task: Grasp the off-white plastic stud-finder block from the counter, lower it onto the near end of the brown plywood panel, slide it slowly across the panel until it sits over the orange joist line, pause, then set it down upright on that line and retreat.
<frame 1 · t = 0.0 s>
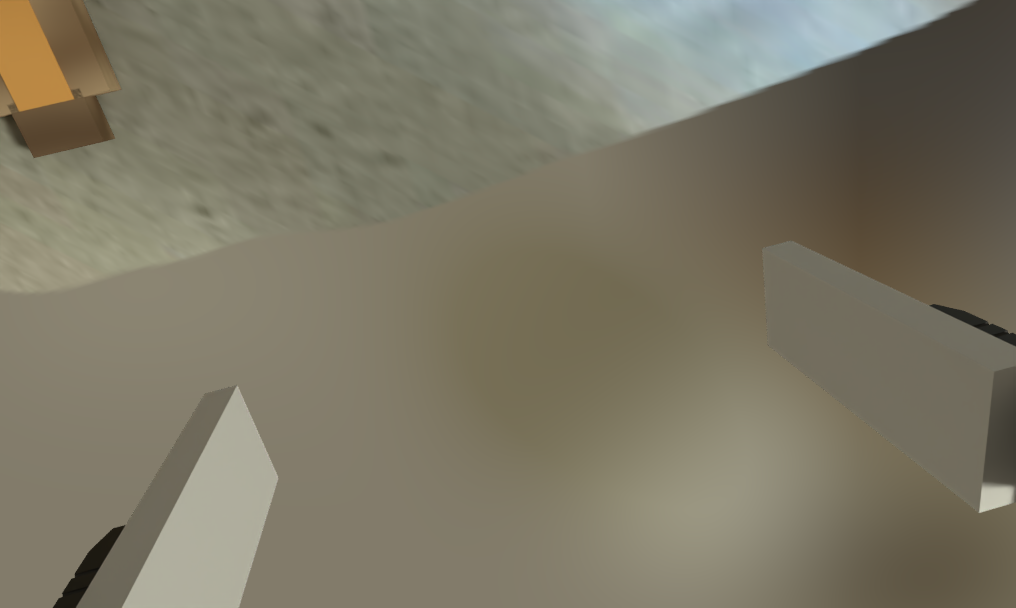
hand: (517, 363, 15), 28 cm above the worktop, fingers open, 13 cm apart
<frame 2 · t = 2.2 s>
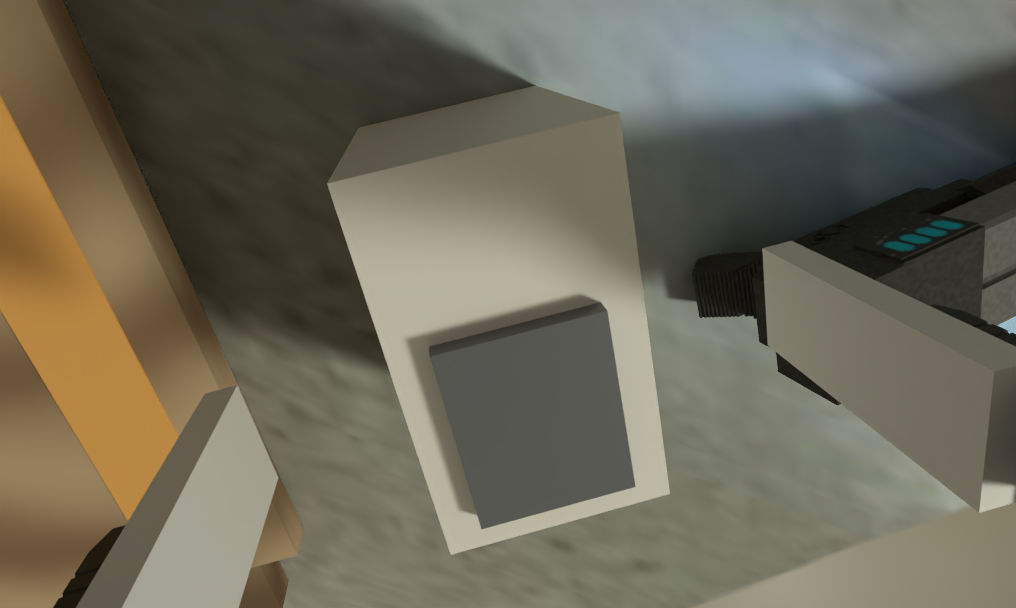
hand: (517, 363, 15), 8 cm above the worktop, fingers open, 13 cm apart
gun: (930, 204, 25), on the worktop
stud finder: (481, 246, 23), on the worktop
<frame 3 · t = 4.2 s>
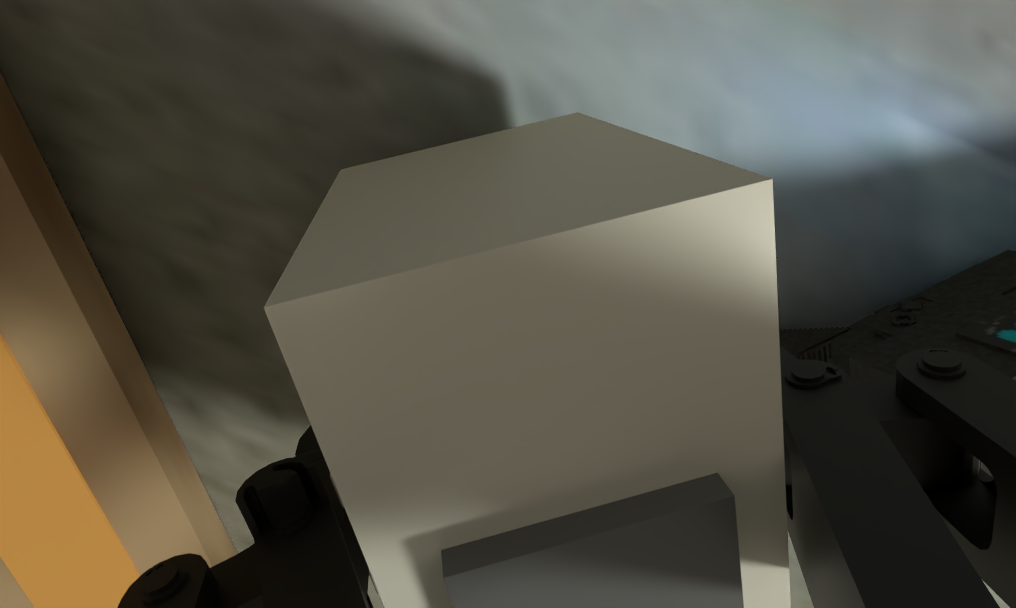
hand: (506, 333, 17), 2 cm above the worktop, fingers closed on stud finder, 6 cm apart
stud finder: (503, 320, 17), point 1 cm above the worktop, touching gripper
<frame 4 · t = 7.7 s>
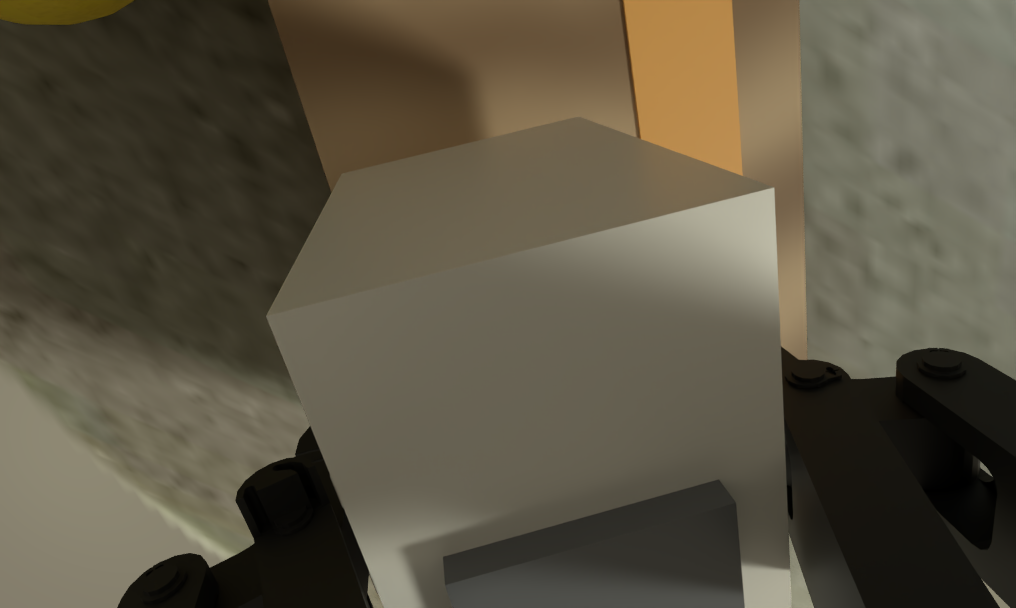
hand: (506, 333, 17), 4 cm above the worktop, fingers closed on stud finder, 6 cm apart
subfloor panel: (576, 224, 21), on the worktop
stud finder: (504, 324, 17), point 4 cm above the worktop, touching gripper
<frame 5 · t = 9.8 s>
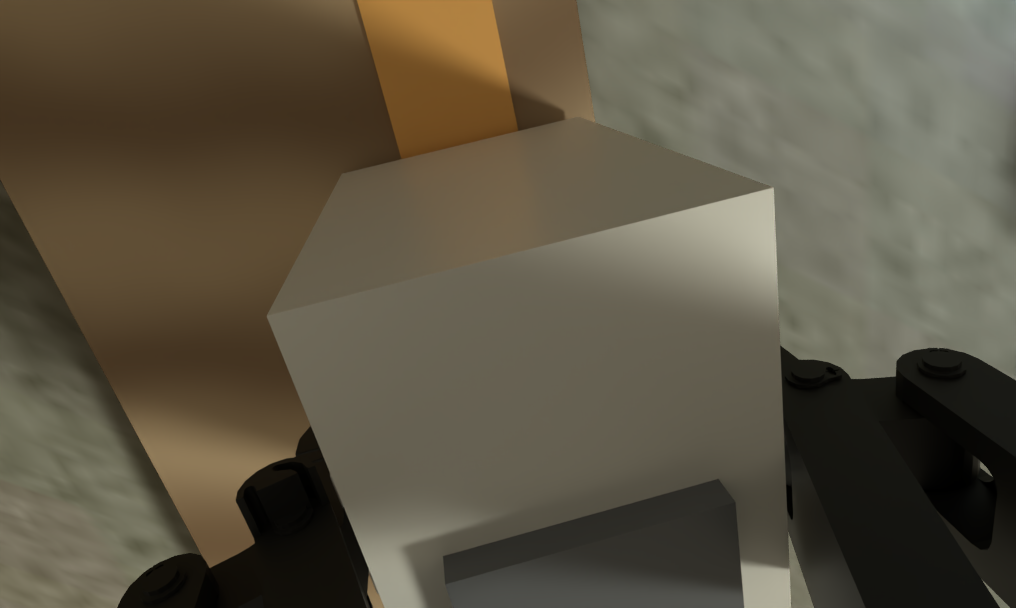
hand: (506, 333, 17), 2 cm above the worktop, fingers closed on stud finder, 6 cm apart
subfloor panel: (374, 305, 18), on the worktop
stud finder: (504, 323, 17), point 2 cm above the worktop, touching gripper
when the fingers open (2 cm above the worktop, at t = 11.1 s): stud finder stays where it is, resting on subfloor panel.
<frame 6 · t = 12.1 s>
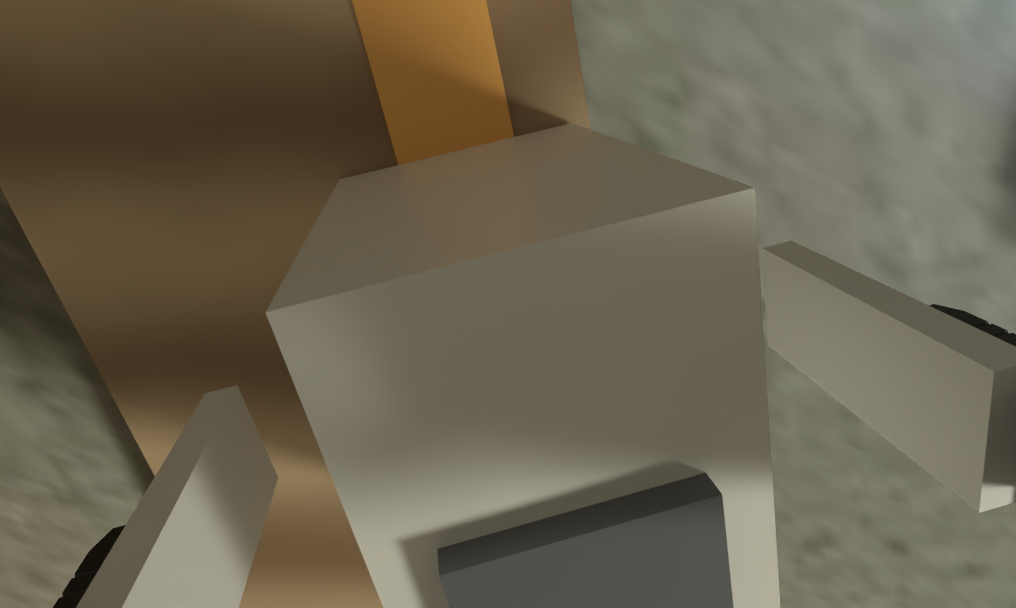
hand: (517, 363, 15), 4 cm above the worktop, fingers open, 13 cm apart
subfloor panel: (371, 309, 19), on the worktop
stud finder: (499, 327, 18), point 2 cm above the worktop, touching subfloor panel
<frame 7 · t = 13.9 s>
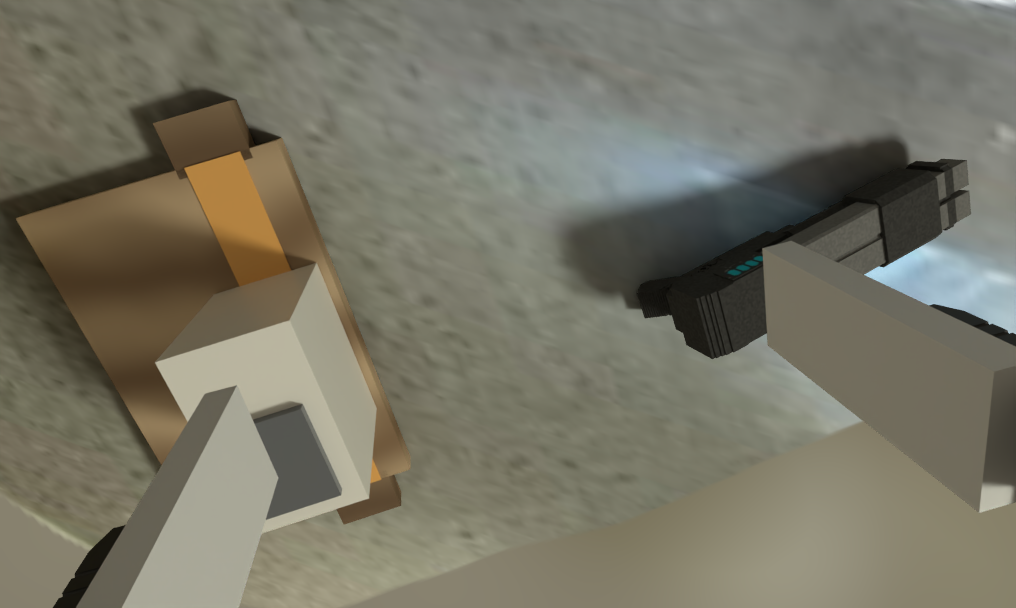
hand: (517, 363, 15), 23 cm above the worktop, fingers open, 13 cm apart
gun: (779, 238, 42), on the worktop
subfloor panel: (242, 348, 38), on the worktop
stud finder: (299, 354, 37), point 2 cm above the worktop, touching subfloor panel
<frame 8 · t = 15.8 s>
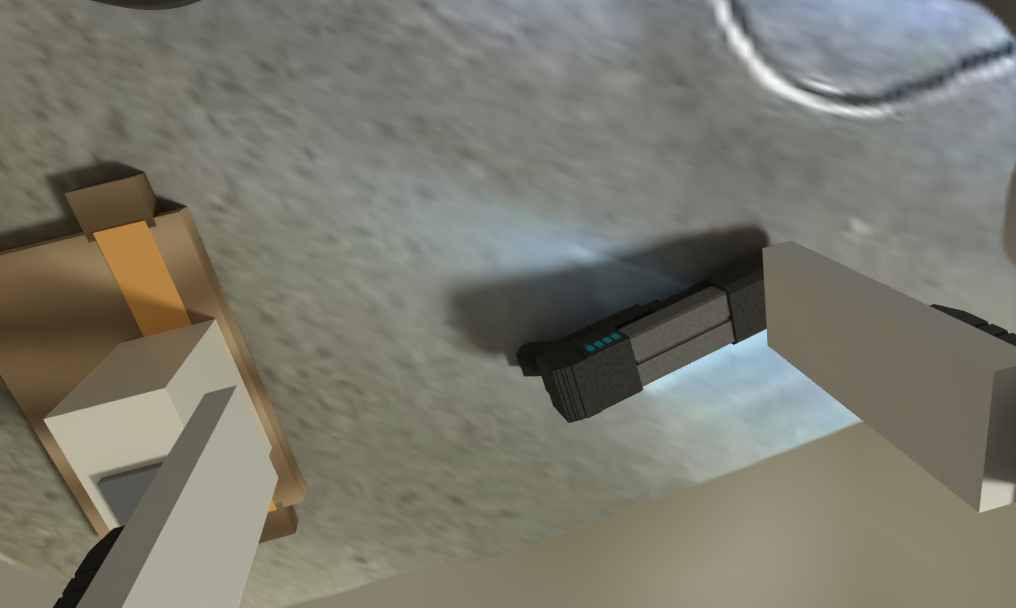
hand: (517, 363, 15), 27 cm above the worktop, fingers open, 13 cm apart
gun: (652, 309, 46), on the worktop
subfloor panel: (150, 388, 42), on the worktop
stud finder: (199, 397, 41), point 2 cm above the worktop, touching subfloor panel
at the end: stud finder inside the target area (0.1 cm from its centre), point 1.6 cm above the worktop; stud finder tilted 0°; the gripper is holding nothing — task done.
